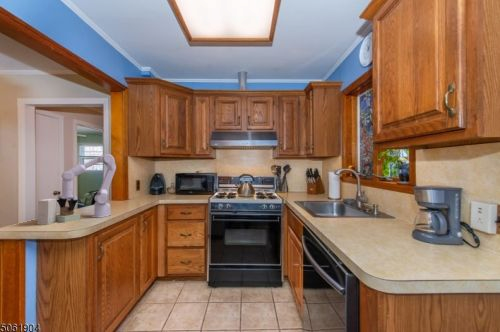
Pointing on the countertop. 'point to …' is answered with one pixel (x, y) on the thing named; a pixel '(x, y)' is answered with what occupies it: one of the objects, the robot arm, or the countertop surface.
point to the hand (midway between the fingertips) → (67, 210)
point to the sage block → (67, 218)
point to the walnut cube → (65, 211)
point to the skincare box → (46, 211)
